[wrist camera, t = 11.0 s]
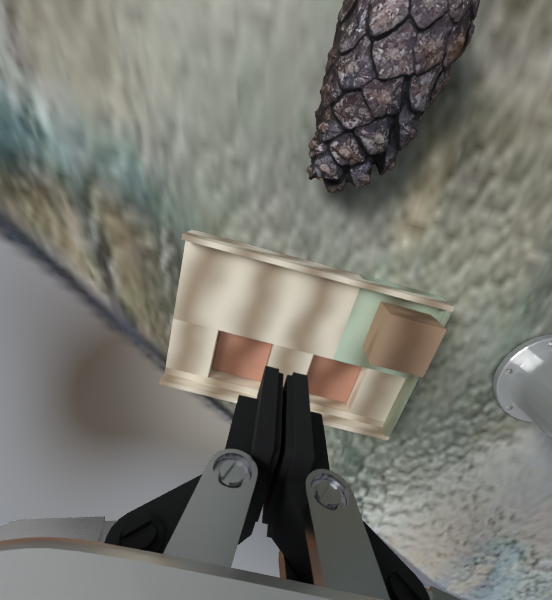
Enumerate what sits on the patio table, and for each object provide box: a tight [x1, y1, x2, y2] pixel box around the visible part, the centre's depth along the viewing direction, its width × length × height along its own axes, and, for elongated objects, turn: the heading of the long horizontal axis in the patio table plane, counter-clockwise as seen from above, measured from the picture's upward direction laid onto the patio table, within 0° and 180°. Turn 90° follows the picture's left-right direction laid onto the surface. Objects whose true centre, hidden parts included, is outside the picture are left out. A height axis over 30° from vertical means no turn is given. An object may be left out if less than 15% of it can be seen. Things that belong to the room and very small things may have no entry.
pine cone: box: [307, 0, 480, 193], centre depth 26 cm, size 10×18×10 cm, turn 166°
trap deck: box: [160, 230, 454, 440], centre depth 38 cm, size 30×19×4 cm, turn 75°
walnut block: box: [362, 301, 447, 378], centre depth 34 cm, size 6×6×4 cm
